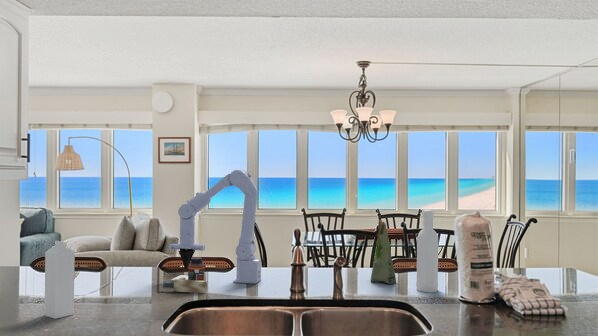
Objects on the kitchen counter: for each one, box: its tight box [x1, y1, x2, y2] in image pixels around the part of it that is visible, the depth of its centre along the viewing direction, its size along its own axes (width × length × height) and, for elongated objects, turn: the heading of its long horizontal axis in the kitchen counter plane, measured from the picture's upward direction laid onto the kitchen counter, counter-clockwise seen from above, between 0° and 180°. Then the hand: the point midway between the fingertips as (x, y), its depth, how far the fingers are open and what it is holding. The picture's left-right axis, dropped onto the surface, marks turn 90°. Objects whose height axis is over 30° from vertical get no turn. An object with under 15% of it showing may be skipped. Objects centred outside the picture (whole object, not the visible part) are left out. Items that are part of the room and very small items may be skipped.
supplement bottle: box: [187, 256, 206, 281], centre depth 192 cm, size 6×6×11 cm
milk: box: [43, 240, 76, 320], centre depth 155 cm, size 6×6×22 cm
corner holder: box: [173, 278, 208, 294], centre depth 188 cm, size 12×5×4 cm, turn 79°
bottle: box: [415, 209, 439, 293], centre depth 195 cm, size 8×8×30 cm
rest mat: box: [170, 274, 188, 282], centre depth 208 cm, size 9×9×1 cm
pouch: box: [370, 219, 397, 285], centre depth 208 cm, size 11×12×25 cm
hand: (186, 267), depth 208 cm, fingers closed
